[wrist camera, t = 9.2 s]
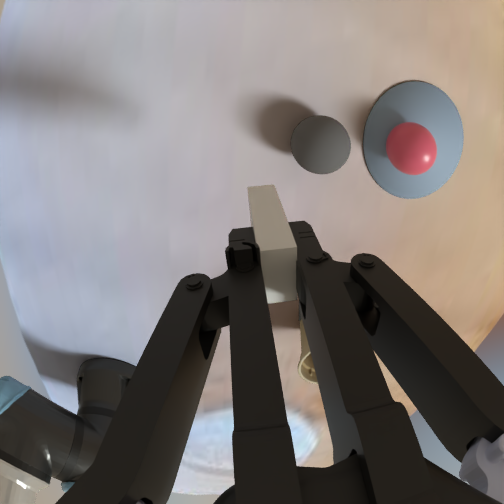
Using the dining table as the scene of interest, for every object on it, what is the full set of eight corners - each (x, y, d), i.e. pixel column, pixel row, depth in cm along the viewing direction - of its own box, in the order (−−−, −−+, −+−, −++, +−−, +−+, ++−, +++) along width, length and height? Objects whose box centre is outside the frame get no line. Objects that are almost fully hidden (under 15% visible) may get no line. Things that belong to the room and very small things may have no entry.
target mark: (360, 201, 34) (360, 202, 33) (363, 75, 26) (363, 75, 26) (454, 195, 34) (455, 196, 34) (466, 89, 26) (467, 89, 26)
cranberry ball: (400, 184, 27) (443, 182, 27) (405, 127, 24) (450, 130, 24) (375, 165, 31) (416, 164, 31) (377, 116, 28) (420, 118, 28)
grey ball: (361, 177, 26) (338, 161, 31) (358, 117, 23) (334, 110, 28) (303, 186, 26) (288, 169, 31) (296, 123, 23) (281, 116, 28)
